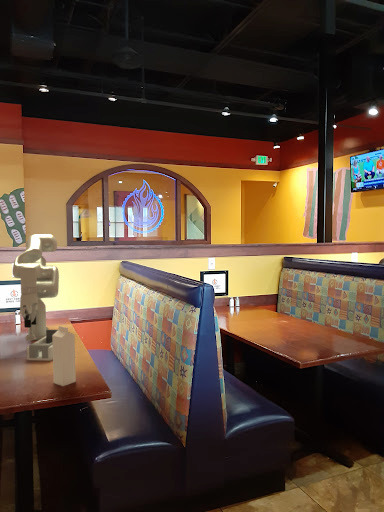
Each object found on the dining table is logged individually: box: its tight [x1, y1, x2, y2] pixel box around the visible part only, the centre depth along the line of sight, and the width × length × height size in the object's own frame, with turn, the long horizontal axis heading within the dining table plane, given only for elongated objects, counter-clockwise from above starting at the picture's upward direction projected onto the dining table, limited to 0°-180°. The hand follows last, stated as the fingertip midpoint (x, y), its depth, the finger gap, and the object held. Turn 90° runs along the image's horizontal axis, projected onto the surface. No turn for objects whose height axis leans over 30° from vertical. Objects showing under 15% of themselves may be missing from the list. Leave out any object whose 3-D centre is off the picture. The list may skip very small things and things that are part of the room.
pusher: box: [39, 328, 59, 352], centre depth 198 cm, size 17×8×9 cm, turn 175°
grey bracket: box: [26, 336, 53, 362], centre depth 199 cm, size 21×11×7 cm, turn 175°
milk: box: [52, 325, 77, 387], centre depth 159 cm, size 6×6×22 cm
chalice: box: [25, 303, 37, 341], centre depth 206 cm, size 7×7×18 cm
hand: (30, 325), depth 206 cm, fingers closed on chalice, 4 cm apart
